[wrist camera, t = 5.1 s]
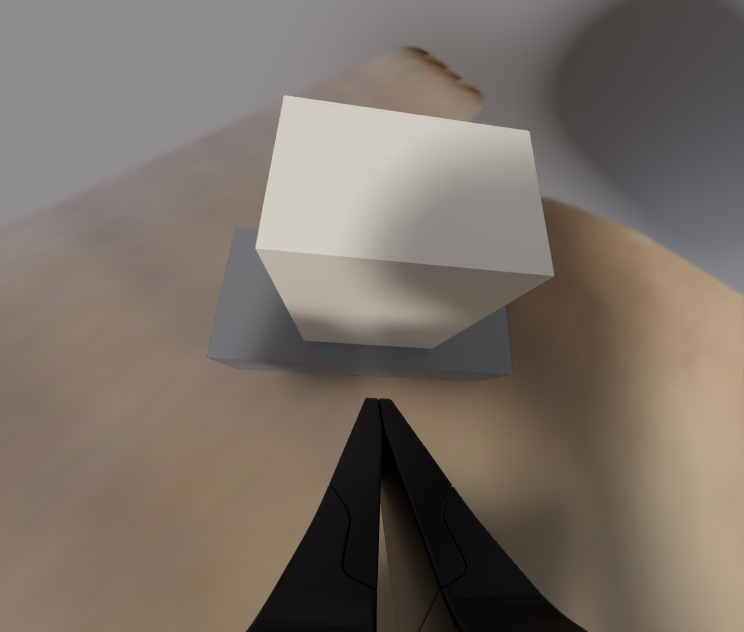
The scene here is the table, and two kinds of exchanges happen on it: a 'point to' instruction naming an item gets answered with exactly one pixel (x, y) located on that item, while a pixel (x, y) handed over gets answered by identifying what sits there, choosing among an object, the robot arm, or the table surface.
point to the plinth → (291, 353)
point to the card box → (398, 223)
